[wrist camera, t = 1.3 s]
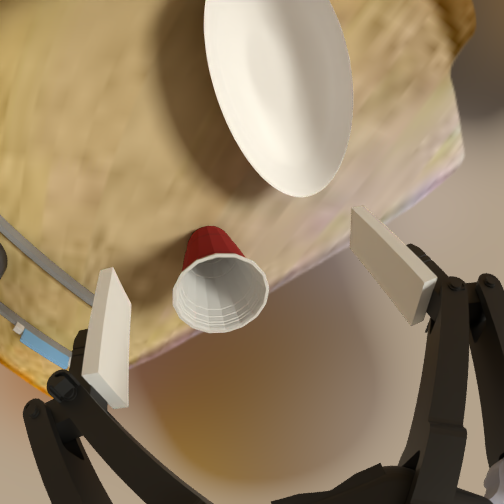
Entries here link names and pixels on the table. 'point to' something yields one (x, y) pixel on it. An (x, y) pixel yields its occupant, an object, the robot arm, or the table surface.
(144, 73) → the table surface
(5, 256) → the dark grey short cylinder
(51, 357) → the gray u-shaped frame
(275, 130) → the bowl
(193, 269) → the plastic cup
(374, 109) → the table surface
